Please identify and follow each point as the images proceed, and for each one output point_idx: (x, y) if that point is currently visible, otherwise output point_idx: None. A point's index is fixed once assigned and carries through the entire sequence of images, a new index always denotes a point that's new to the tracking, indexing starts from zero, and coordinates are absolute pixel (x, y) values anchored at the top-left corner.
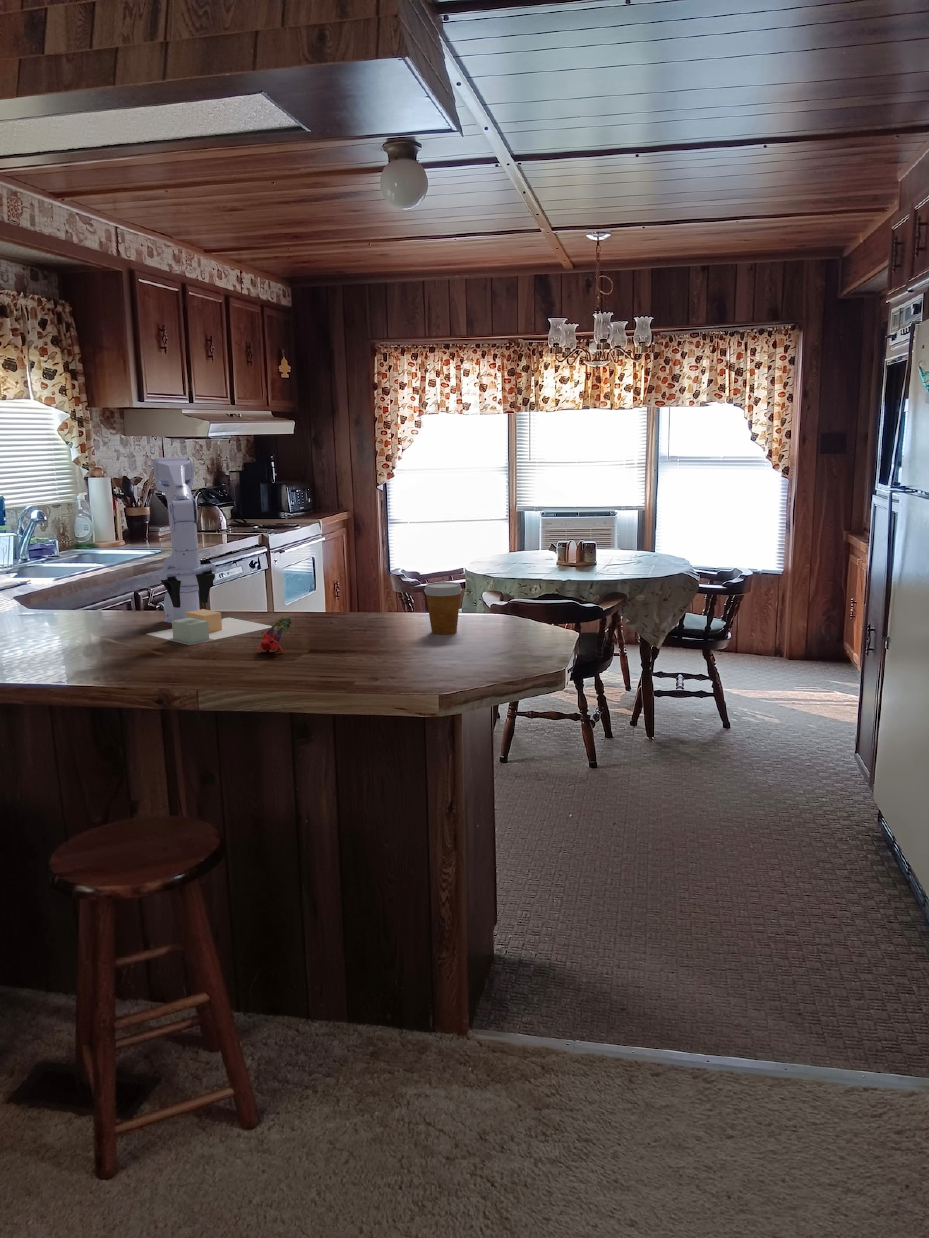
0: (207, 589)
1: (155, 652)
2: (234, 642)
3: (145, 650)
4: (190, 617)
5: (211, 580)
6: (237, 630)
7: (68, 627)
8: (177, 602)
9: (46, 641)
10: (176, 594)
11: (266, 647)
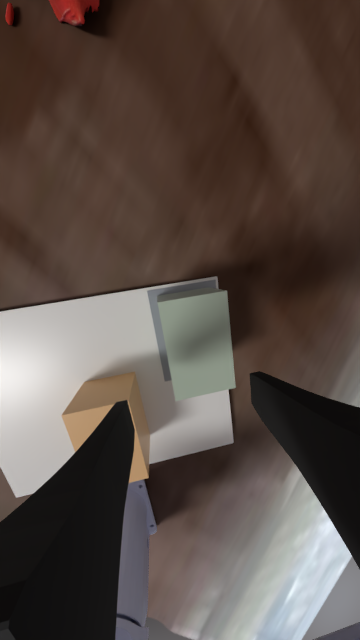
0: (94, 450)
1: (289, 286)
2: (105, 243)
3: (292, 320)
4: (145, 449)
5: (10, 529)
6: (50, 349)
7: (284, 560)
8: (278, 379)
9: None
10: (319, 397)
11: (59, 10)
